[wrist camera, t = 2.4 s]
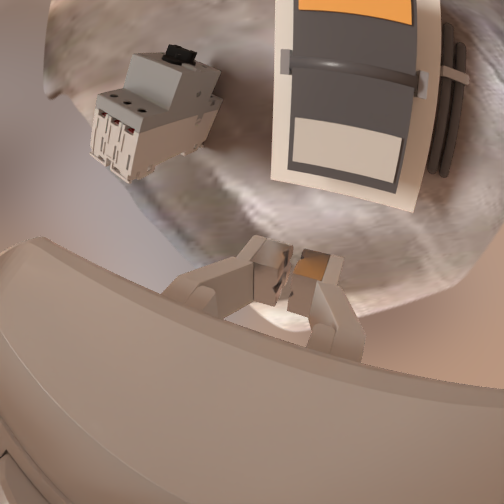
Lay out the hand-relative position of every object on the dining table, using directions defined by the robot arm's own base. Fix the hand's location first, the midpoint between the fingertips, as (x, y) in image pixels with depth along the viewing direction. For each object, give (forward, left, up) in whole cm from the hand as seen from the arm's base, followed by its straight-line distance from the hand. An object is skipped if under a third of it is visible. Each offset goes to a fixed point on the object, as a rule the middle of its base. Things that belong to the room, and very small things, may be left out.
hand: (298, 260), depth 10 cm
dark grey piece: (-8, +11, -25) cm, 29 cm away
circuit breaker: (-4, -21, -25) cm, 33 cm away
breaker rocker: (-8, 0, -16) cm, 17 cm away
